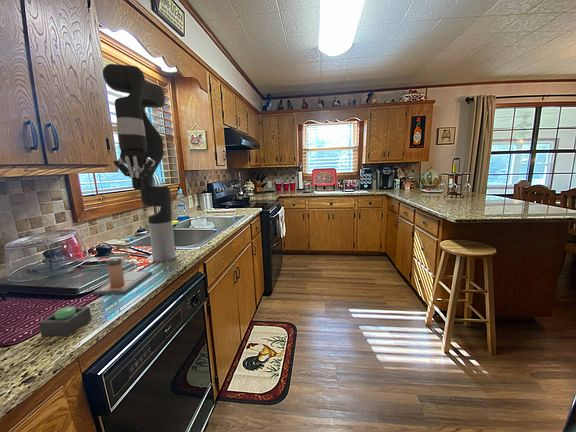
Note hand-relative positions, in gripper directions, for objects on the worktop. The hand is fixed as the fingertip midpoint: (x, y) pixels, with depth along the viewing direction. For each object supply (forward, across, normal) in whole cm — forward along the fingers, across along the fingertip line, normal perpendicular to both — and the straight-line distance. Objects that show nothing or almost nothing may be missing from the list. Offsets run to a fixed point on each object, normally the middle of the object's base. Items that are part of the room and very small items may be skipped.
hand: (138, 189), depth 81 cm
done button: (+30, +7, +24) cm, 40 cm away
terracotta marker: (+32, +9, +3) cm, 33 cm away
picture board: (+33, +9, 0) cm, 34 cm away
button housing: (+33, +7, +24) cm, 42 cm away
